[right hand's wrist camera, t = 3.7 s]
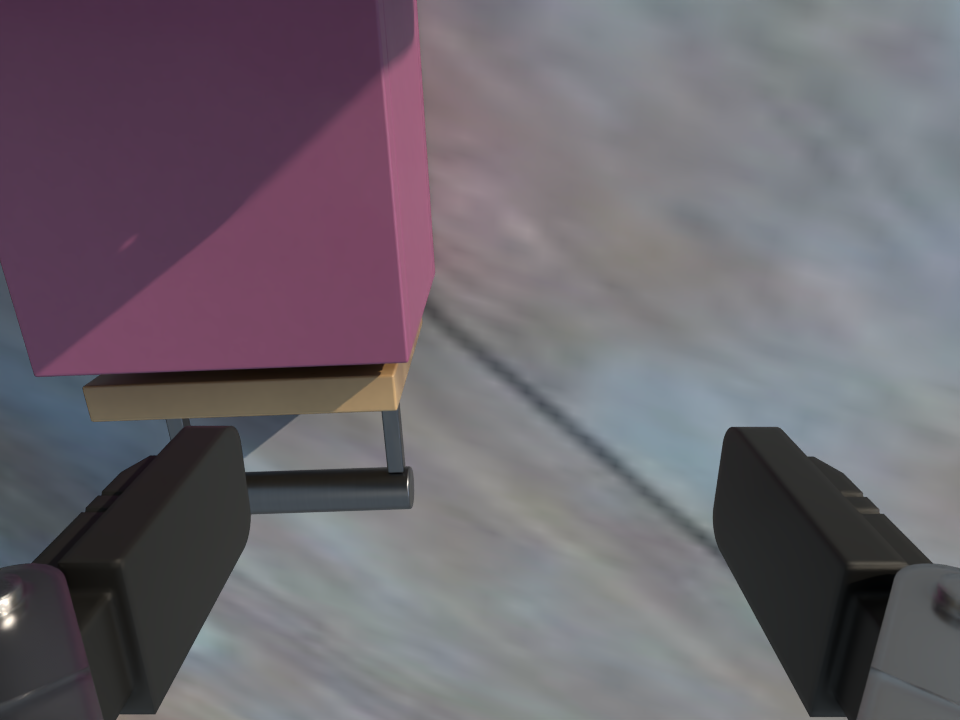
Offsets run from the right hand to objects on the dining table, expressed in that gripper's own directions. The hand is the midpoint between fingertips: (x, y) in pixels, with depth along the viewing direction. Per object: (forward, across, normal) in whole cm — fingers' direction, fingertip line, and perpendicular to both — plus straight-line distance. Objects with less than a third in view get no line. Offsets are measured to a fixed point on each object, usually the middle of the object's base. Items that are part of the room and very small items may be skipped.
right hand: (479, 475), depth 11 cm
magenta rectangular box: (+18, +8, -7) cm, 21 cm away
